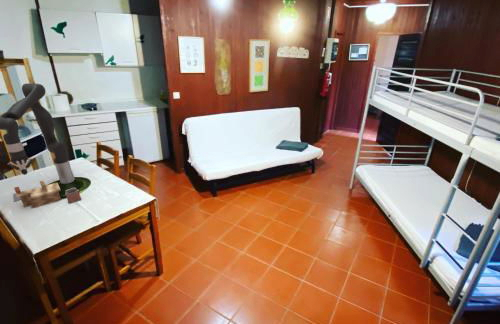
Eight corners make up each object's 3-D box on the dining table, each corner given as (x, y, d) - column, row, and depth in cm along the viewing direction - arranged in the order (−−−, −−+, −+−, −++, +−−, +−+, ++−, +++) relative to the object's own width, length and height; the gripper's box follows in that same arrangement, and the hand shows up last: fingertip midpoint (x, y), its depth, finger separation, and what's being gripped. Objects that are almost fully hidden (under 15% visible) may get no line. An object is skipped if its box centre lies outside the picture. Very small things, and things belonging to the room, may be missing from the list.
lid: (57, 183, 187) (55, 176, 184) (60, 190, 179) (58, 182, 177) (29, 191, 177) (26, 183, 175) (31, 198, 169) (28, 190, 167)
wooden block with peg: (32, 191, 174) (29, 183, 172) (32, 193, 173) (29, 185, 170) (16, 195, 169) (13, 187, 167) (16, 197, 168) (13, 189, 165)
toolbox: (58, 192, 189) (55, 182, 186) (61, 199, 181) (57, 189, 178) (23, 202, 177) (19, 192, 174) (24, 210, 169) (20, 199, 166)
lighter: (80, 197, 184) (77, 185, 180) (82, 199, 182) (78, 187, 178) (67, 202, 179) (63, 189, 175) (68, 204, 177) (64, 191, 173)
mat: (44, 186, 196) (44, 186, 196) (46, 193, 188) (45, 192, 188) (13, 194, 186) (13, 193, 185) (13, 201, 178) (13, 201, 177)
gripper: (29, 145, 167) (37, 169, 174) (1, 150, 159) (11, 175, 166) (29, 149, 162) (38, 173, 169) (1, 154, 154) (12, 179, 161)
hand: (25, 174), depth 168 cm, fingers closed
